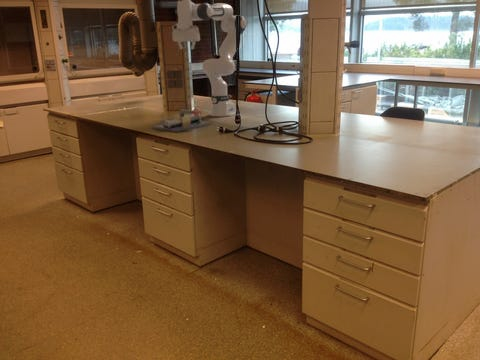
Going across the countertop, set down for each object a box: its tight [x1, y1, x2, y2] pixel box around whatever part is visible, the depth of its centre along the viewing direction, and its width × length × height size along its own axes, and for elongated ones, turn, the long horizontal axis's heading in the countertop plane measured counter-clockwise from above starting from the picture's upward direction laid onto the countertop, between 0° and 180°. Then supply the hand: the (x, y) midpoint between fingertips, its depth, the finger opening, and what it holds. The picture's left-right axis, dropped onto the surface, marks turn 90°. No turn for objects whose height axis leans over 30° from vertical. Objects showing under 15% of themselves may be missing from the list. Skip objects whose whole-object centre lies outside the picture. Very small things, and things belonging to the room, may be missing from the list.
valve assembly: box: [152, 114, 213, 133], centre depth 282 cm, size 30×22×7 cm
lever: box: [178, 108, 202, 116], centre depth 276 cm, size 17×4×4 cm, turn 52°
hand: (186, 49), depth 284 cm, fingers open, 8 cm apart
